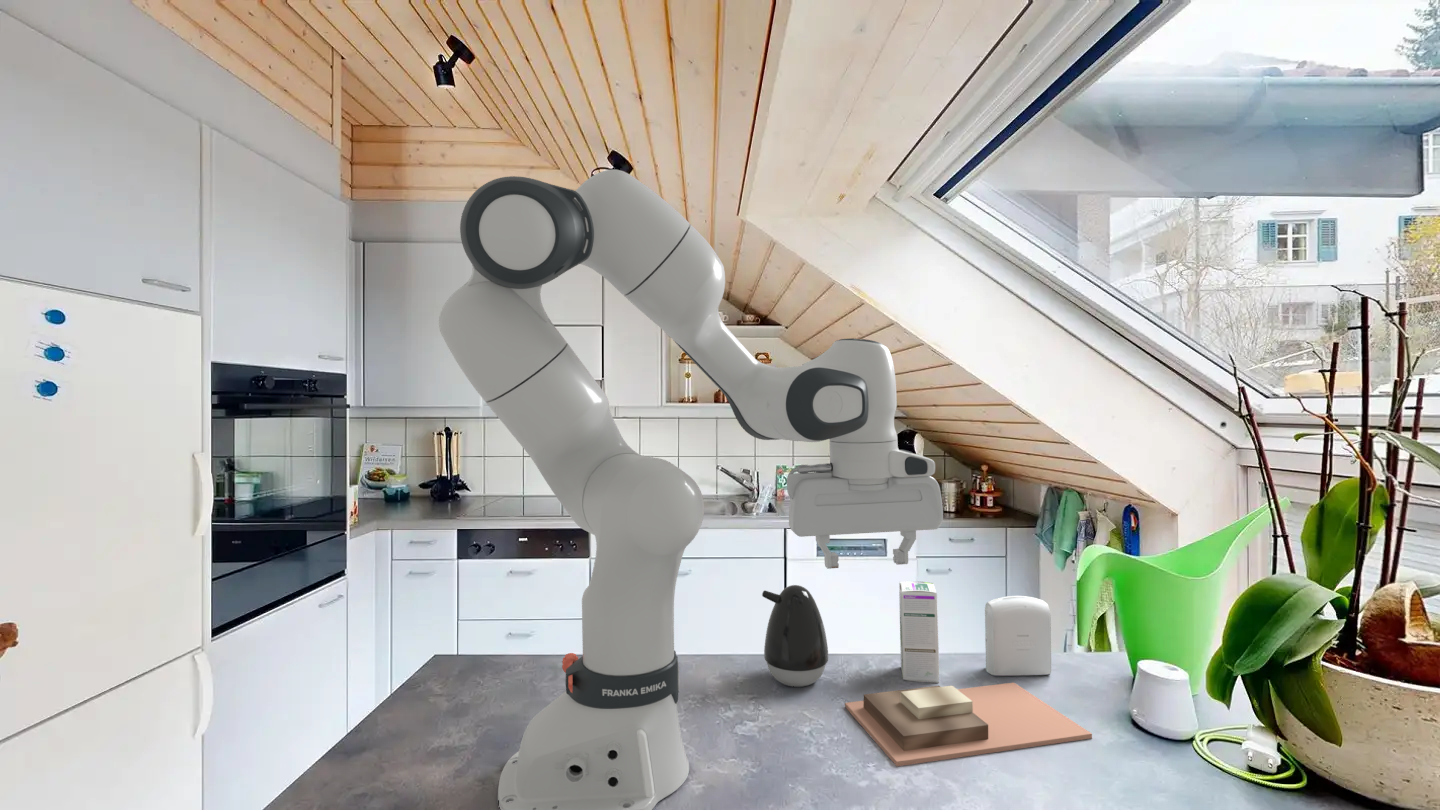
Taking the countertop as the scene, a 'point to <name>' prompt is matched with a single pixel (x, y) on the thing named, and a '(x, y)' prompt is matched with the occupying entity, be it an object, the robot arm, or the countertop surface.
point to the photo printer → (1017, 636)
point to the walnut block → (922, 723)
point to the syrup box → (919, 631)
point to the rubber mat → (1009, 722)
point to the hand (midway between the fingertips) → (866, 565)
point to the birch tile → (936, 702)
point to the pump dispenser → (795, 638)
